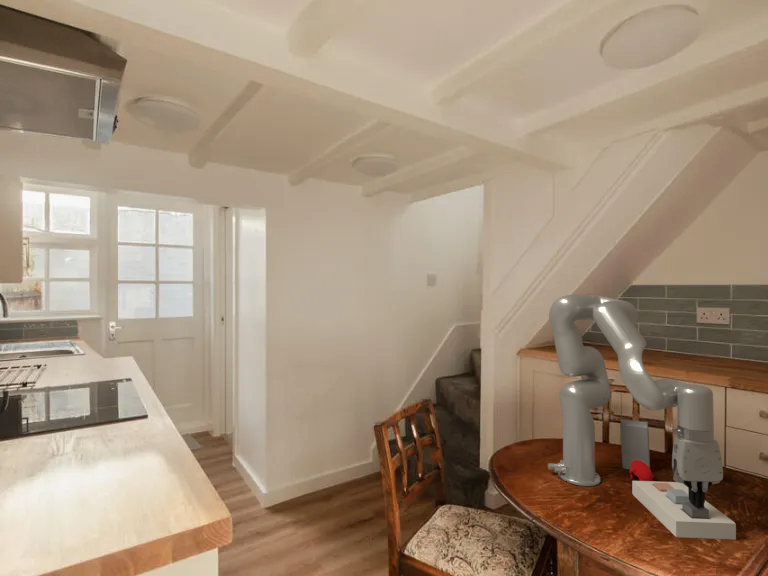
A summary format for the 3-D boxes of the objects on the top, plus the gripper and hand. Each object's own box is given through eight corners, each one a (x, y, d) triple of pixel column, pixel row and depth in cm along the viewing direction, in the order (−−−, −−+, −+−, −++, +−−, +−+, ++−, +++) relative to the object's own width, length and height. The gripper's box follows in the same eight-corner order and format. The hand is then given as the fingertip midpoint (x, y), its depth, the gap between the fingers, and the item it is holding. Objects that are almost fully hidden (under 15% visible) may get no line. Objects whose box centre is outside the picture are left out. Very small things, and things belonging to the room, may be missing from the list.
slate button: (675, 507, 114) (675, 496, 114) (667, 499, 118) (666, 489, 118) (691, 507, 114) (691, 496, 114) (682, 500, 118) (682, 489, 118)
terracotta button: (660, 499, 121) (660, 489, 121) (653, 492, 125) (653, 482, 125) (675, 500, 121) (675, 489, 121) (667, 493, 125) (667, 483, 125)
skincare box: (649, 467, 146) (649, 421, 146) (649, 474, 140) (649, 427, 140) (621, 461, 151) (621, 417, 151) (620, 469, 145) (620, 423, 145)
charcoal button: (692, 521, 107) (692, 509, 107) (682, 513, 111) (682, 501, 111) (708, 522, 107) (708, 510, 107) (698, 513, 111) (698, 502, 111)
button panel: (676, 537, 106) (676, 521, 106) (632, 493, 128) (632, 480, 128) (735, 539, 105) (735, 523, 105) (681, 495, 126) (681, 482, 126)
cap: (622, 465, 141) (627, 462, 136) (639, 459, 141) (645, 455, 136) (636, 490, 136) (642, 488, 131) (654, 484, 136) (660, 481, 131)
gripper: (673, 438, 106) (674, 511, 106) (737, 439, 105) (738, 513, 104) (656, 428, 113) (658, 497, 113) (716, 429, 112) (717, 498, 112)
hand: (696, 505), depth 109 cm, fingers closed
